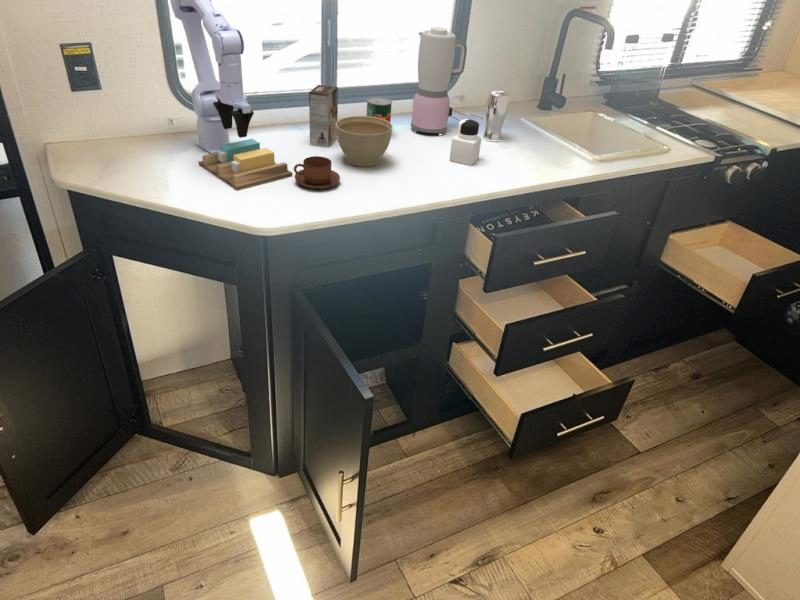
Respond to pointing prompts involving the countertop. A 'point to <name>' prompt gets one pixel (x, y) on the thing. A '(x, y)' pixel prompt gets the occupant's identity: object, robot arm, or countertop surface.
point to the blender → (435, 79)
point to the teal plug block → (236, 149)
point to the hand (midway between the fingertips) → (235, 132)
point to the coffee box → (323, 115)
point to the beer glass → (495, 114)
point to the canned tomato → (379, 108)
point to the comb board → (243, 173)
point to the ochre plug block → (252, 160)
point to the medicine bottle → (466, 143)
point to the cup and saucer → (316, 173)
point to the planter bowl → (363, 139)
